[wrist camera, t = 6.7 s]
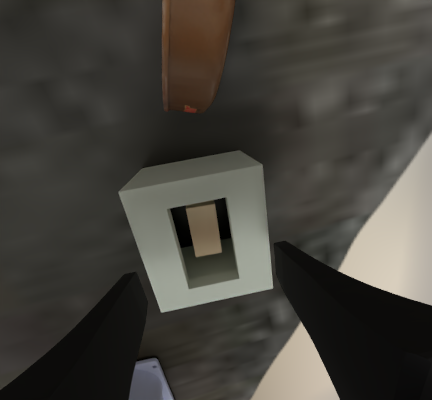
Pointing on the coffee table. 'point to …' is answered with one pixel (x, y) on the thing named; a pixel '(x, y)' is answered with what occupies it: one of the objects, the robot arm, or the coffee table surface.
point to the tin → (194, 51)
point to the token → (204, 228)
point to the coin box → (185, 257)
